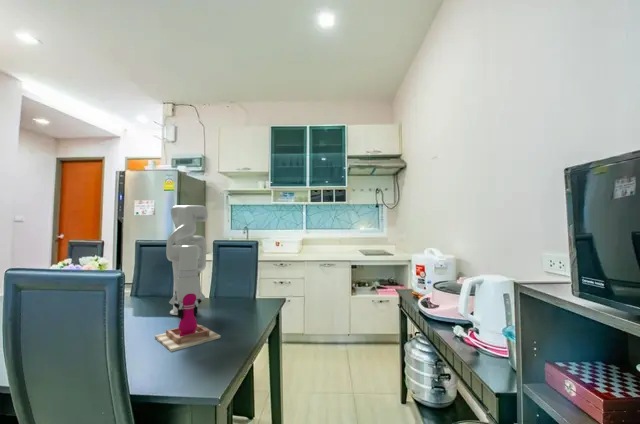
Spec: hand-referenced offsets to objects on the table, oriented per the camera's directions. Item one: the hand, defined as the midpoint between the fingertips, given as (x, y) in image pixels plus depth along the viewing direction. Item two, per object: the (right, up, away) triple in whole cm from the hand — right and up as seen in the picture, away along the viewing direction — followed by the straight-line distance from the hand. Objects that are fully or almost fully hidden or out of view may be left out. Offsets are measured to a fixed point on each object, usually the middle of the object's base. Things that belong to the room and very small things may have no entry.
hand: (187, 316), depth 129 cm
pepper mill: (0, -8, -1) cm, 8 cm away
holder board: (0, -9, 0) cm, 9 cm away
